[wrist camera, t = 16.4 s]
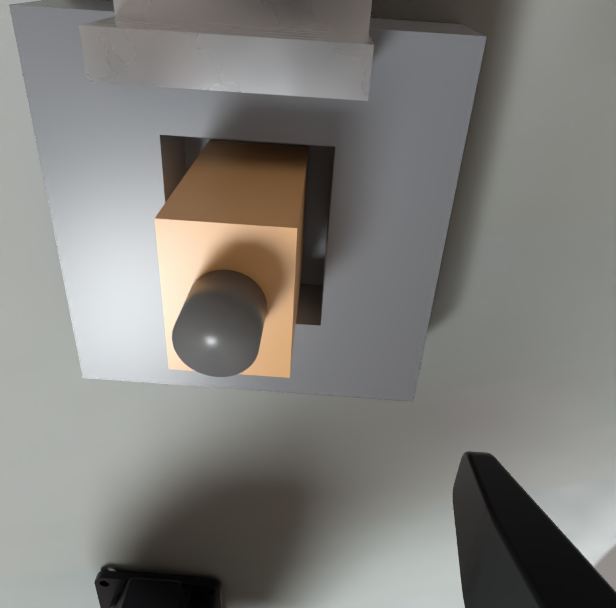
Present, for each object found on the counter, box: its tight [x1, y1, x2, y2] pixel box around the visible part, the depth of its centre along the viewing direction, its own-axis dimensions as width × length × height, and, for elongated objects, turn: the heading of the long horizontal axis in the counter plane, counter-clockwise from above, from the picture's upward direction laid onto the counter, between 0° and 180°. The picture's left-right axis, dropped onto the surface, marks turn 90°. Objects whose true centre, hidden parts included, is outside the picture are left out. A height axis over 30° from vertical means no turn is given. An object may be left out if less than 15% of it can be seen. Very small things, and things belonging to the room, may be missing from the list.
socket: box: [9, 0, 487, 401], centre depth 17 cm, size 11×11×3 cm
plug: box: [154, 140, 309, 378], centre depth 15 cm, size 4×3×8 cm
